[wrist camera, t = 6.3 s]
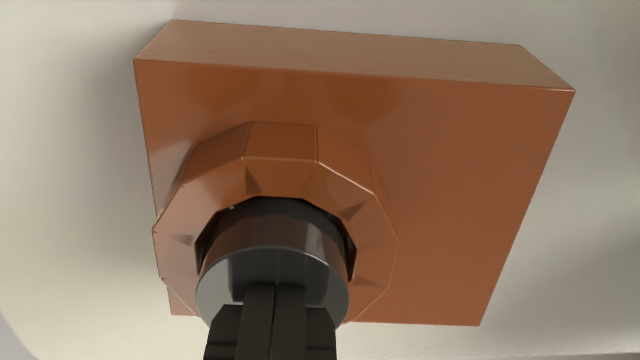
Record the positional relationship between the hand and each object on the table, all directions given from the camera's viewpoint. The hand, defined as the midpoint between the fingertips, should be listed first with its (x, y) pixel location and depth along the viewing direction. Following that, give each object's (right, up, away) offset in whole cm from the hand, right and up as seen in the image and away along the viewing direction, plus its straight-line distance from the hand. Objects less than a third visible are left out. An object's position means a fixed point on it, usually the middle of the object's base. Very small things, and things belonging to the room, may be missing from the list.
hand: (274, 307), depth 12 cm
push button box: (+2, +4, +7) cm, 8 cm away
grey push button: (0, +1, +2) cm, 2 cm away
